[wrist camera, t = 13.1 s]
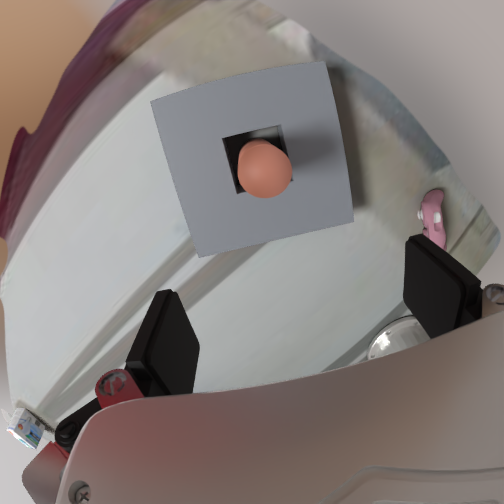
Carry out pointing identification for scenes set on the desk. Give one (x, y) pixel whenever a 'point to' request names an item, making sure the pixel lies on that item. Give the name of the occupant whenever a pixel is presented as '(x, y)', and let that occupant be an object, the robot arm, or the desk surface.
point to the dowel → (263, 168)
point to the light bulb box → (26, 428)
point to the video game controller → (433, 217)
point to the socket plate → (244, 120)
